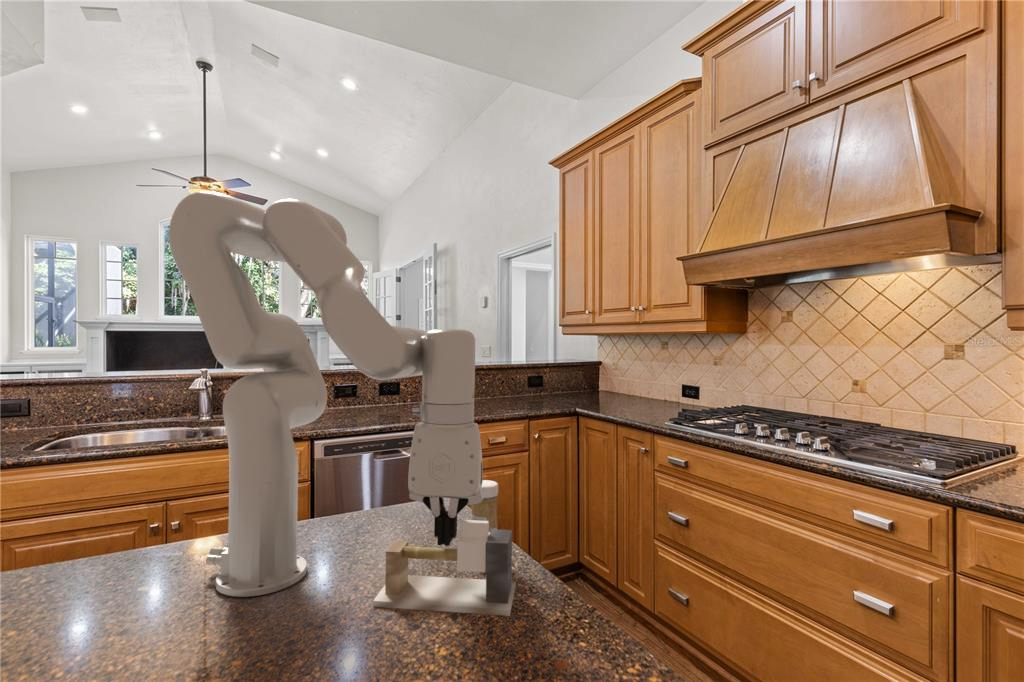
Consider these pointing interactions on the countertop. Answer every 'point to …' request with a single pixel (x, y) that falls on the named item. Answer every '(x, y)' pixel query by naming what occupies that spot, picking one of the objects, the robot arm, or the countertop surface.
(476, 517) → the sprinkles bottle
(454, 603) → the linear actuator
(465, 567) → the sleeve
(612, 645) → the countertop surface
